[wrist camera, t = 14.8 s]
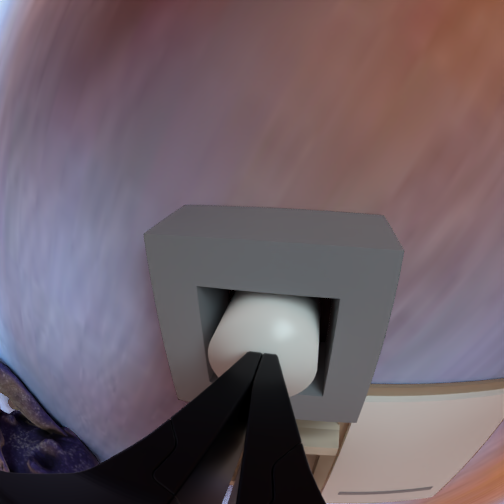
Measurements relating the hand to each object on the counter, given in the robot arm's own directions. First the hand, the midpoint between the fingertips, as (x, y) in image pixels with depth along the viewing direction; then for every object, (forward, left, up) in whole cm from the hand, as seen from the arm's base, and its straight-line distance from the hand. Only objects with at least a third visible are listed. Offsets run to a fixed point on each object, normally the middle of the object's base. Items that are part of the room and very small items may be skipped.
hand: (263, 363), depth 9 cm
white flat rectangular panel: (-9, +12, -4) cm, 15 cm away
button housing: (0, 0, -4) cm, 4 cm away
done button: (0, 0, -3) cm, 3 cm away
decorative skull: (+23, +20, -4) cm, 31 cm away
